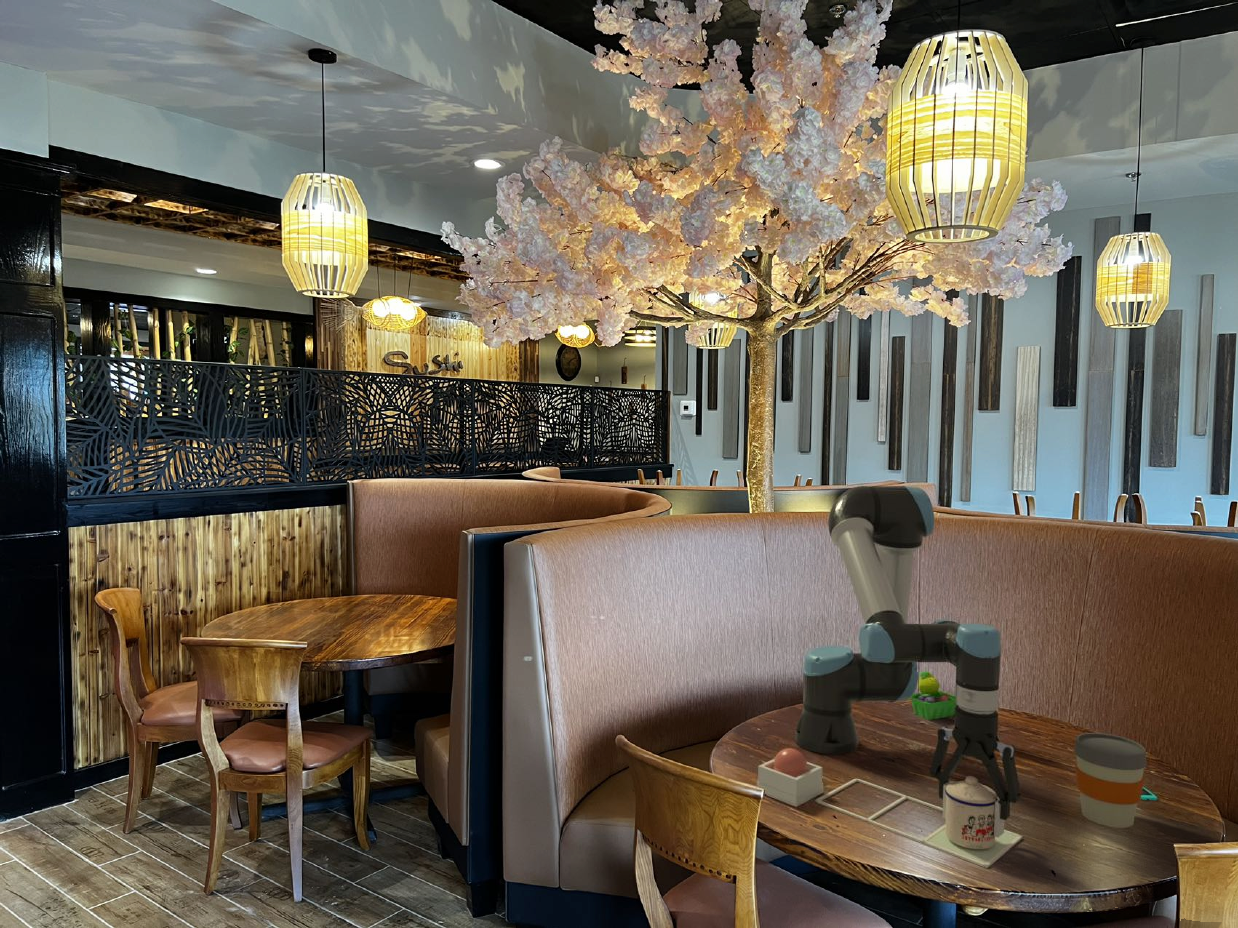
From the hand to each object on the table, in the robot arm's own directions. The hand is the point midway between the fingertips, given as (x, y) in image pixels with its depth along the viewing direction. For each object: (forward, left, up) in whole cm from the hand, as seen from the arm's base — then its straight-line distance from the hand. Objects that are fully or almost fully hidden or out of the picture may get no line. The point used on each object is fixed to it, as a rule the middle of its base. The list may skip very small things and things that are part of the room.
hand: (972, 825), depth 158 cm
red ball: (-36, -8, -1) cm, 36 cm away
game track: (-12, 0, -3) cm, 12 cm away
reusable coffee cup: (+14, +30, -3) cm, 33 cm away
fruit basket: (-38, +62, -3) cm, 72 cm away
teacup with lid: (+1, 0, -2) cm, 3 cm away
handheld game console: (+10, +49, -4) cm, 50 cm away
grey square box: (-36, -8, -3) cm, 37 cm away
